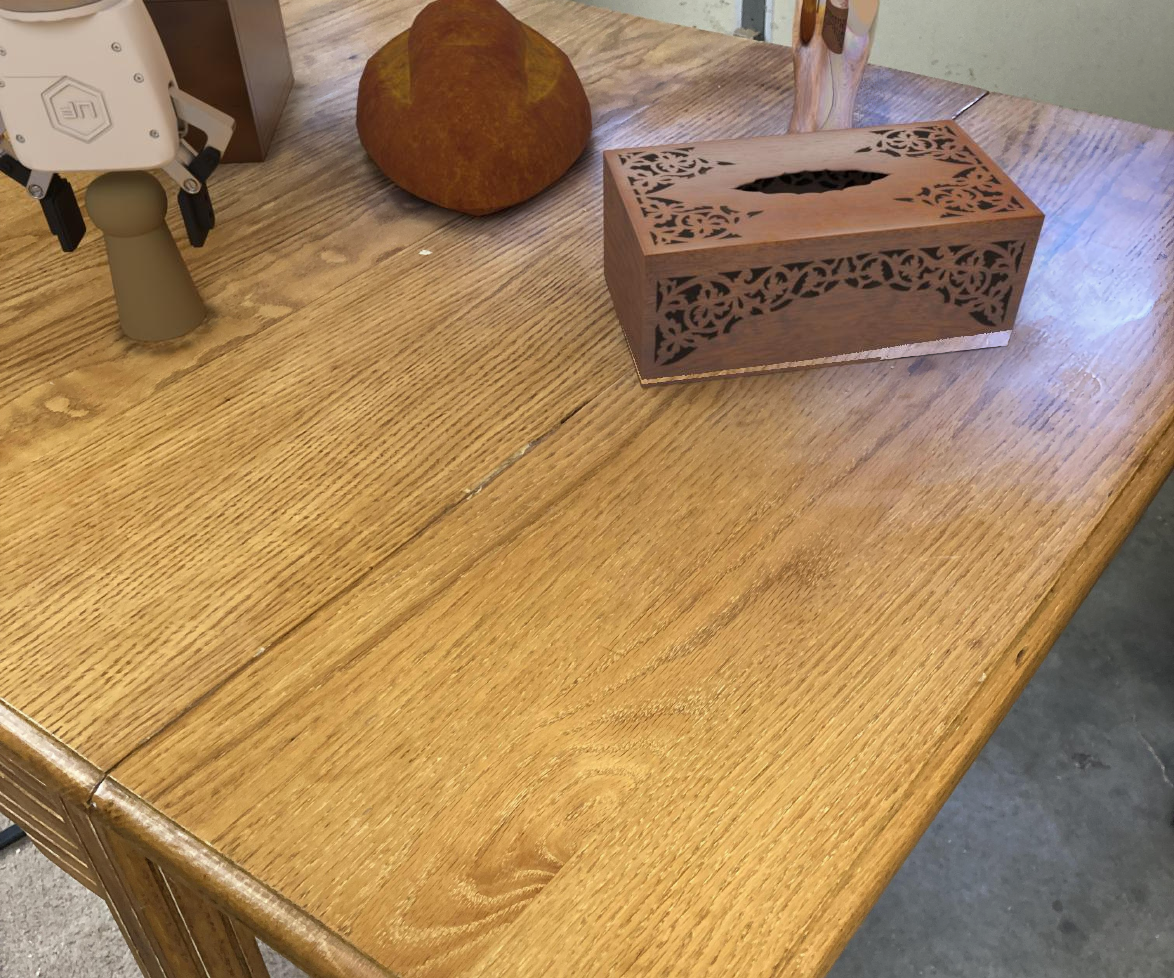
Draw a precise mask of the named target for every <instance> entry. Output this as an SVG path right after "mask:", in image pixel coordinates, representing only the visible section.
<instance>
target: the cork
mask: <svg viewBox="0 0 1174 978" xmlns="http://www.w3.org/2000/svg"><path fill="white" fill-rule="evenodd" d="M168 200H169V199H168V195H167V192H166V190H165V188H164V187H163V185H162V183H161V182H160V180H159V179H158V178H157V177H156V176H154V174H152V173H150V172H148V171H147V170H133V171H108V172H105V173H103V174H101V175H99V176H97V177H96V178H94V179H93V180H91V181H90V183H89V184H88V185H87V187H86V190H85V194H84V207H85V211H86V213H87V215H88V217H89V220H90V221H91V222H92V223H93V225H94V226H95V228H97V229H98V230H100V231H101V232H102V234H103V240H104V244H105V251H106V255H107V262H108V266H109V272H110V277H111V282H112V289H113V294H114V298H115V303H116V309H117V310H116V311H117V315H118V320H119V325H120V328H121V330H122V333H123V334H124V335H125V336H127V337H129V338H130V339H133V340H136V341H140V342H156V343H157V342H163V341H169V340H173V339H176V338H179V337H183V336H184V335H187V334H188V333H190V332H192V331H193V330H195V329H196V328H197V327H198V326H200V325H201V324H202V323H203V321H204V320H205V318H206V317H207V308H206V306H205V303H204V301H203V299H202V296H201V295H200V293H199V290H198V288H197V286H196V283H195V282H194V279H193V278H192V275H191V272H190V270H189V268H188V267H187V264H186V262H185V260H184V257H183V256H182V253H181V251H180V249H179V247H178V244H177V243H176V239H175V237H174V236H173V234H172V232H171V230H170V227H169V225H168V223H167V221H166V216H167V214H168V202H169V201H168Z"/></svg>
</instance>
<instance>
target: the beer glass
mask: <svg viewBox="0 0 1174 978" xmlns="http://www.w3.org/2000/svg"><path fill="white" fill-rule="evenodd" d="M880 6H881V0H795V2H794V10H793V17H792V19H793V20H792V31H791V39H792V40H791V42H792V43H791V44H792V45H791V47H792V49H791V51H792V65H793V81H794V96H793V97H794V99H793V105H792V106H793V107H792V112H791V115H790V118H789V122H788V125H787V128H786V129H787V130H786V133H785V134H793V133H804V132H815V131H827V130H838V129H849V128H855V126H854V125H855V124H854V122H855V121H854V115H855V105H856V102H857V101H856V100H857V95H858V92H859V89H860V87H861V83H862V79H863V76H864V74H865V71H866V69H867V65H868V61H869V58H870V56H871V53H872V49H873V45H874V42H875V39H876V32H877V28H878V22H879V15H880Z"/></svg>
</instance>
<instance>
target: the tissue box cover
mask: <svg viewBox="0 0 1174 978" xmlns="http://www.w3.org/2000/svg"><path fill="white" fill-rule="evenodd" d="M602 196H603V197H602V201H603V203H602V205H603V206H602V207H603V209H602V210H603V211H602V213H603V215H602V216H603V217H602V219H603V221H602V222H603V223H602V224H603V230H602V231H603V277H604V280H605V283H606V287H607V289H608V292H609V294H610V297H611V300H612V304H613V306H614V310H615V313H616V316H617V318H618V321H619V325H620V327H621V331H622V333H623V337H624V339H625V342H626V345H627V348H628V352H629V354H630V356H631V360H632V363H633V366H634V369H635V372H636V375H637V378H638V382H639V384H640V388H642V389H643V388H653V387H662V386H671V385H680V384H688V383H696V382H697V383H698V382H705V381H713V380H722V379H724V380H725V379H731V378H740V377H749V376H757V375H759V376H760V375H765V374H766V375H767V374H775V373H776V374H777V373H784V372H794V371H802V370H810V369H811V370H812V369H819V368H828V367H829V368H830V367H837V366H847V365H854V364H855V365H856V364H863V363H864V364H865V363H873V362H881V361H880V359H881V357H876V358H867V359H858V360H850V361H841V362H832V363H823V364H815V365H806V366H797V367H788V368H780V369H771V370H762V371H753V372H744V373H736V374H727V375H718V376H709V377H701V378H692V379H683V380H674V381H666V382H657V383H648V384H641V381H640V378H639V375H638V372H637V369H636V366H635V363H634V360H633V357H634V359H635V362H636V365H637V368H638V371H639V374H640V376H641V379H642V380H644V379H647V380H649V379H657V378H663V377H674V376H682V375H685V376H687V375H691V374H693V375H694V374H702V373H709V372H716V371H723V370H729V369H740V368H747V367H757V366H763V365H765V366H767V365H773V364H779V363H785V362H795V361H796V362H798V361H804V360H813V359H818V358H824V357H826V358H827V357H832V356H838V355H843V354H845V355H846V354H851V353H856V352H857V353H859V352H862V351H863V352H864V351H869V350H877V349H882V348H887V347H888V348H890V347H895V346H900V345H901V346H902V345H905V344H906V345H907V344H914V343H922V342H929V341H936V340H938V341H939V340H940V339H942V340H943V339H947V338H949V339H950V338H954V337H961V336H963V337H964V336H974V335H978V334H984V333H986V334H987V333H991V332H992V333H994V332H1000V331H1007V330H1012V331H1013V329H1014V326H1015V323H1016V320H1017V316H1018V313H1019V309H1020V306H1021V302H1022V298H1023V295H1024V291H1025V289H1026V285H1027V281H1028V277H1029V274H1030V271H1031V268H1032V264H1033V260H1034V257H1035V253H1036V251H1037V246H1038V244H1039V239H1040V236H1041V232H1042V229H1043V225H1044V222H1045V218H1046V214H1045V213H1044V212H1043V211H1042V210H1041V208H1039V206H1037V204H1035V202H1034V201H1033V200H1032V199H1031V198H1030V197H1028V195H1027V194H1026V193H1025V192H1024V191H1023V190H1022V189H1021V188H1020V186H1018V185H1017V183H1015V182H1014V180H1012V178H1010V176H1009V175H1008V174H1007V173H1006V172H1005V171H1004V170H1003V169H1002V168H1001V167H1000V166H999V165H998V164H997V163H996V162H995V161H994V159H992V158H991V157H990V156H989V154H987V153H986V152H985V151H984V150H983V148H982V147H980V146H979V144H978V143H977V142H976V141H975V140H974V139H973V138H972V137H971V136H970V135H969V134H968V133H967V132H966V131H965V130H964V129H963V128H962V126H961V125H959V123H958V122H957V121H955V120H954V119H953V118H952V119H942V120H941V119H940V120H930V121H917V122H908V123H907V122H906V123H895V124H884V125H872V126H860V127H854V128H849V129H838V130H827V131H815V132H804V133H793V134H786V133H783V134H773V135H761V136H750V137H740V138H739V137H738V138H728V139H727V138H726V139H725V138H724V139H716V140H704V141H693V142H681V143H671V144H660V145H658V144H657V145H648V146H637V147H636V146H635V147H625V148H615V149H604V150H602ZM622 326H623V327H622ZM623 329H624V330H623ZM624 332H625V333H624ZM625 334H626V336H625ZM626 337H627V339H626ZM627 340H628V342H627ZM628 343H629V345H628ZM629 346H630V348H631V351H632V354H633V357H632V354H631V351H630V348H629ZM887 357H888V356H887ZM873 360H874V361H873ZM885 361H888V360H887V359H886V360H885Z"/></svg>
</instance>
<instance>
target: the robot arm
mask: <svg viewBox="0 0 1174 978" xmlns="http://www.w3.org/2000/svg"><path fill="white" fill-rule="evenodd" d="M188 123H189V124H191V125H193V126H195V127H197V128H199V129H201V130H203V131H204V132H205V133H206V134H207V137H208V140H207V143H206V144H205V146H204V147H203V148H202V150H201V151H200V152H199V154H198V153H197V152H196V151H195V150H194V149H193V148H192V147H191V146H190V145H189V144H188V143H187V142H186V141H185V140H184V139H183V137H184V136H186V134H187V132H188ZM235 127H236V121H235V120H234V119H233V118H232V117H230V116H229V115H227V114H225V113H223V112H221V111H219V110H217V109H215V108H213V107H212V106H210V105H208V104H206V103H204V102H202V101H200V100H198V99H196V98H195V97H193V96H191V95H189V94H187V93H185V92H183V91H181V90H179V88H178V85H177V83H176V80H175V77H174V74H173V71H172V68H171V65H170V63H169V60H168V57H167V55H166V52H165V49H164V47H163V44H162V42H161V40H160V37H159V35H158V32H157V30H156V28H155V26H154V23H153V21H152V19H151V17H150V15H149V13H148V11H147V9H146V7H145V5H144V3H143V1H142V0H0V172H1V173H2V174H4V175H6V176H7V177H9V178H10V179H12V180H13V181H15V182H16V183H18V184H19V185H21V186H22V187H24V188H25V190H26V193H27V194H28V196H29V197H30V198H32V199H35V200H38V202H39V205H40V208H41V209H42V212H43V215H44V217H45V220H46V222H47V225H48V228H49V230H50V233H51V235H53V236H57V239H58V242H59V245H60V247H61V250H62V252H63V253H73V252H74V251H76V250H77V248H78V247H79V245H80V243H81V242H82V240H83V238H84V236H85V235H86V233H87V226H86V223H85V219H84V217H83V214H82V212H81V209H80V206H79V204H78V200H77V197H76V194H75V192H74V189H73V186H72V184H71V182H70V181H68V179H67V177H61V175H60V174H72V173H73V174H74V173H75V174H76V173H104V172H105V173H108V172H111V171H133V170H142V171H149V170H156V169H162V170H163V171H164V172H165V173H166V174H167V175H168V176H169V177H170V178H171V179H172V180H173V181H174V182H175V183H176V184H177V185H178V186H179V187H180V189H179V190H178V193H177V195H176V199H177V203H178V207H179V210H180V214H181V217H182V220H183V225H184V228H185V232H186V235H187V238H188V241H189V245H190V246H191V247H193V248H194V249H197V248H204V245H205V242H206V240H207V237H208V235H209V233H210V230H213V229H214V227H215V225H216V215H215V211H214V207H213V204H212V200H211V197H210V193H209V189H208V186H207V180H208V179H209V177H210V176H211V175H212V174H213V173H214V171H215V170H216V168H217V167H218V166H219V164H221V163H220V161H221V158H222V156H223V154H224V152H225V150H226V147H227V145H228V143H229V141H230V139H231V136H232V134H233V132H234V130H235ZM5 133H7V136H8V139H9V140H8V139H7V138H6V137H5Z"/></svg>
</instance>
